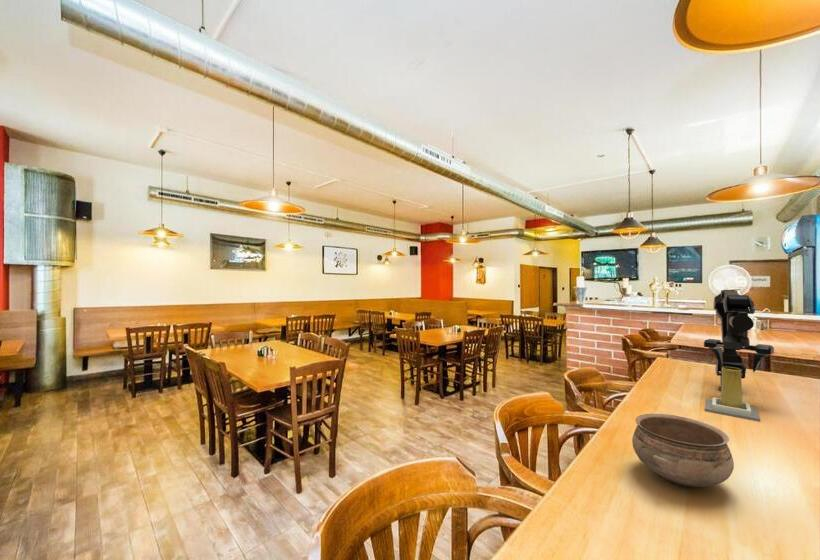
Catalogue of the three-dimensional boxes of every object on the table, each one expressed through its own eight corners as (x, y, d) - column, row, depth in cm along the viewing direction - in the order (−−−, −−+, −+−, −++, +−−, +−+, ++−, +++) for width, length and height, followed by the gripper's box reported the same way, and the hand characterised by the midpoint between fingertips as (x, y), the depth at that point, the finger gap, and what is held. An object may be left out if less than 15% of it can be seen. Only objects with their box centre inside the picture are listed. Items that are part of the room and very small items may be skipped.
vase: (733, 405, 128) (733, 366, 128) (748, 411, 122) (748, 370, 122) (715, 404, 128) (715, 366, 128) (729, 410, 122) (729, 370, 122)
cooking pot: (654, 448, 98) (654, 404, 98) (747, 479, 82) (746, 428, 82) (612, 478, 83) (612, 427, 83) (715, 523, 68) (715, 460, 68)
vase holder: (706, 400, 135) (706, 394, 135) (756, 409, 126) (756, 403, 126) (704, 411, 125) (704, 404, 125) (760, 421, 115) (760, 414, 115)
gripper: (699, 327, 135) (699, 367, 135) (767, 332, 120) (767, 378, 120) (708, 324, 141) (708, 363, 141) (774, 330, 126) (774, 373, 126)
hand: (737, 369), depth 132 cm, fingers open, 9 cm apart
